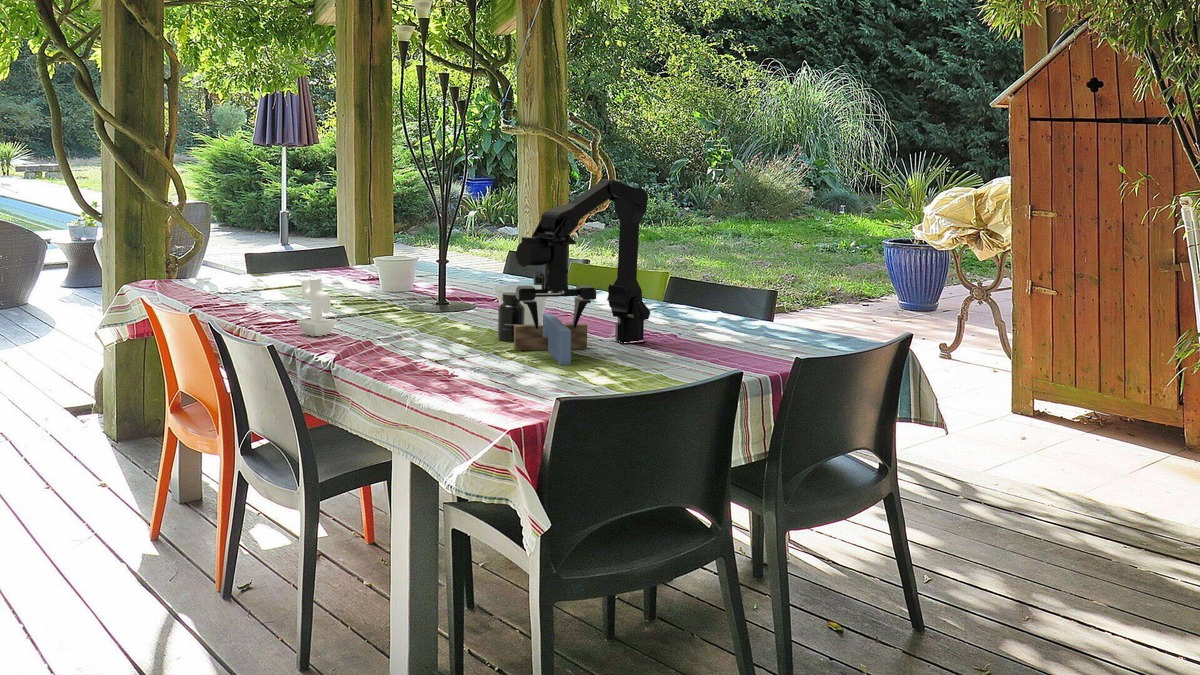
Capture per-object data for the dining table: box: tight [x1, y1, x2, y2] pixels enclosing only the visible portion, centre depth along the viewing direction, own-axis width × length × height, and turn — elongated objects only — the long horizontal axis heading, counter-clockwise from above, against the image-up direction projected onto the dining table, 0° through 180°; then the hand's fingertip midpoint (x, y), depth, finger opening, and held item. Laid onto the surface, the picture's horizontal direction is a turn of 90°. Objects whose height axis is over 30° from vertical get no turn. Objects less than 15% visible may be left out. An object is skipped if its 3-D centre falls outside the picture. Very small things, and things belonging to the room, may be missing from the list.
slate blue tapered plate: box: [542, 313, 572, 366], centre depth 251 cm, size 24×2×8 cm, turn 13°
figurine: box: [296, 276, 338, 337], centre depth 270 cm, size 7×9×15 cm
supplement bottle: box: [497, 292, 526, 343], centre depth 268 cm, size 7×7×12 cm
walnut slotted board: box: [513, 322, 588, 352], centre depth 258 cm, size 18×2×6 cm, turn 103°
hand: (555, 328), depth 251 cm, fingers open, 9 cm apart
